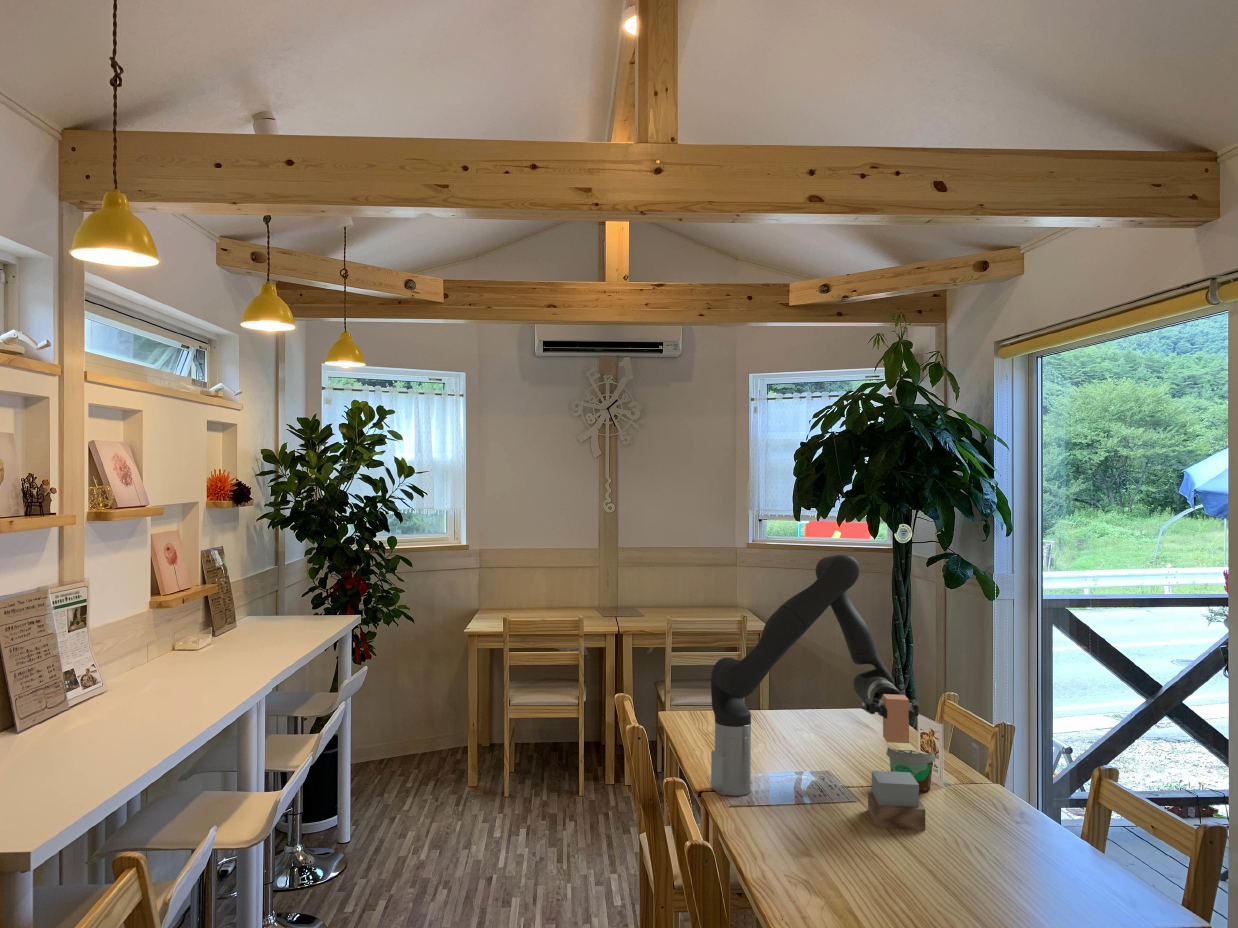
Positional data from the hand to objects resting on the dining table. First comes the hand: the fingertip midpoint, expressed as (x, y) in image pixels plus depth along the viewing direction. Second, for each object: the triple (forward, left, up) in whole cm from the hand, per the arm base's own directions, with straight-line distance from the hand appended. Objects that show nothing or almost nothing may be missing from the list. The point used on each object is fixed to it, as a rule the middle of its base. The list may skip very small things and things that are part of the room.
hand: (898, 714), depth 200 cm
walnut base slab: (+1, +2, -25) cm, 25 cm away
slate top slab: (+1, +2, -20) cm, 20 cm away
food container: (+18, +17, -25) cm, 35 cm away
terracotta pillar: (+1, +2, -7) cm, 7 cm away
